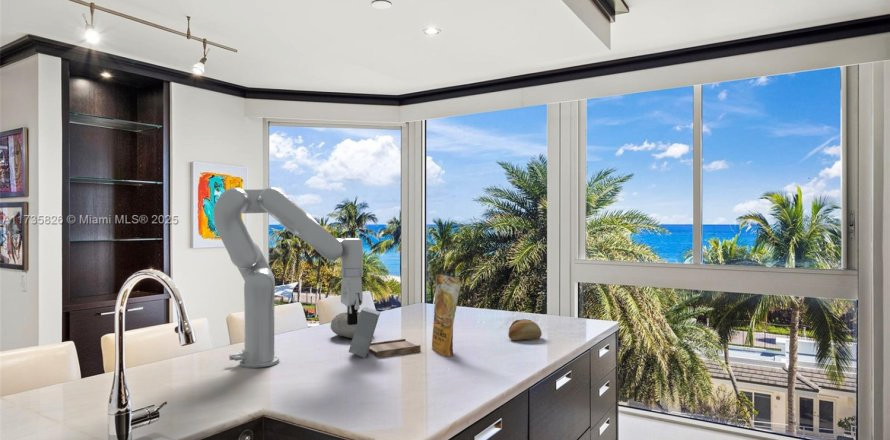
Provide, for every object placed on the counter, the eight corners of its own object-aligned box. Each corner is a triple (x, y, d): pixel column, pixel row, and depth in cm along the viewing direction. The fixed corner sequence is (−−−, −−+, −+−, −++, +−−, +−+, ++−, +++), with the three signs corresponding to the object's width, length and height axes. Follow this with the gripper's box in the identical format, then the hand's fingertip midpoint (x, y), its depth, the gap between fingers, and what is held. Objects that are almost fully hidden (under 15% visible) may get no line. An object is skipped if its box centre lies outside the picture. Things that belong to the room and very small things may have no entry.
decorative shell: (382, 335, 220) (382, 311, 221) (353, 343, 205) (354, 318, 205) (350, 330, 230) (350, 307, 230) (321, 338, 215) (321, 313, 215)
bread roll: (502, 338, 215) (502, 319, 215) (532, 335, 222) (532, 316, 222) (515, 343, 206) (515, 323, 206) (546, 340, 213) (546, 320, 213)
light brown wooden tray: (378, 357, 184) (378, 351, 184) (363, 349, 195) (364, 343, 195) (420, 351, 193) (420, 345, 193) (404, 344, 204) (404, 338, 204)
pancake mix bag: (443, 345, 203) (443, 273, 203) (462, 356, 185) (463, 278, 186) (426, 346, 201) (427, 273, 201) (445, 358, 183) (445, 278, 183)
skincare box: (364, 358, 183) (380, 315, 183) (345, 351, 183) (361, 309, 183) (368, 352, 191) (383, 311, 191) (350, 346, 191) (364, 305, 191)
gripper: (334, 271, 190) (335, 322, 190) (349, 275, 178) (350, 329, 178) (354, 270, 194) (354, 319, 194) (370, 274, 182) (370, 326, 182)
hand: (352, 324), depth 186 cm, fingers closed
